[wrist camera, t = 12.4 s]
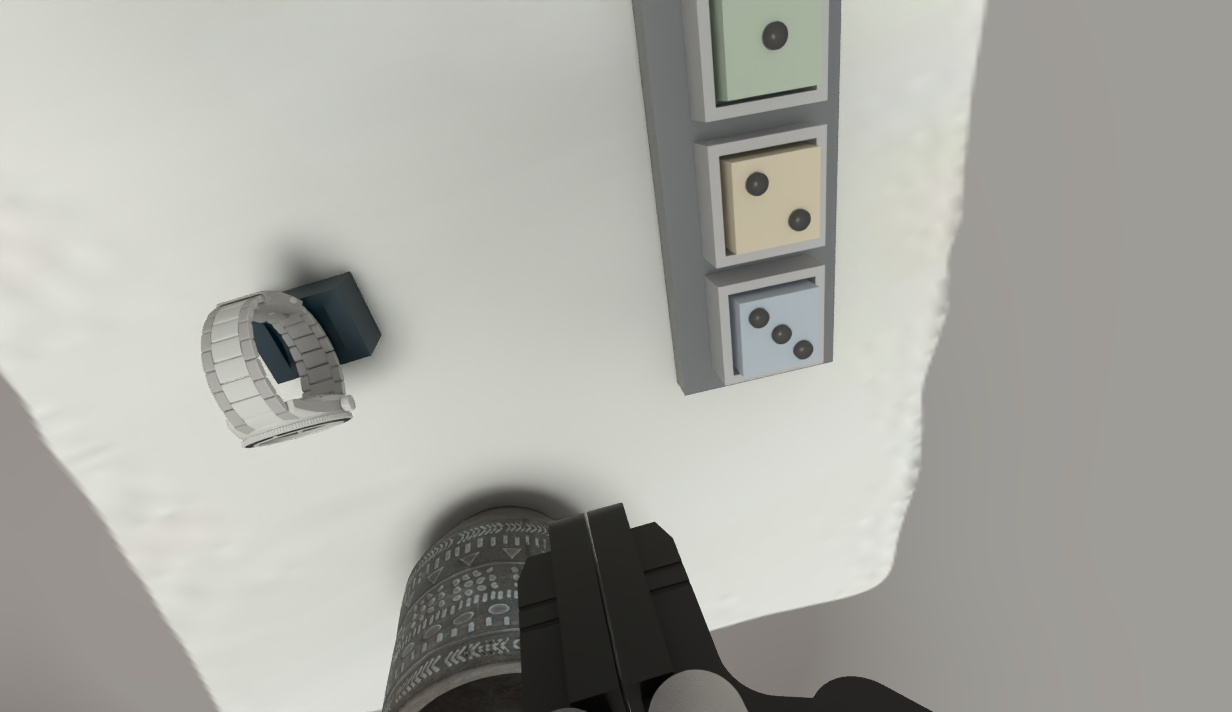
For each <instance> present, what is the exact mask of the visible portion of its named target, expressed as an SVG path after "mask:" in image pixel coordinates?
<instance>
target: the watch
mask: <svg viewBox="0 0 1232 712" xmlns="http://www.w3.org/2000/svg"><path fill="white" fill-rule="evenodd" d="M202 334H203V335H202V337H201V352H202V354H201V358H202V365H203V370H204V372H205V373H207V374H206V379H207V382H208V385H209V388H210V390H211V393H214V394H213V396H214V398H215V400H216V402H217V404H218V406H219V407H220V409H221V411H223V412H224V411H225V412H224V414H225V416H226V417H227V419H228V420H226V422H227V426H228V428H229V429H230V430H231V431H232V432H233V433H234V434H235V435H236V436H237V437H239V438H240V439H243V441H242V442H241V444H242V447H243V448H252V447H259V446H265V445H271V444H275V443H280V442H284V441H288V440H292V439H296V438H299V437H303V436H306V435H310V434H313V433H317V432H320V431H323V430H326V429H329V428H332V427H334V426H337V425H339V424H342V423H344V422H346V421H348V420H350V419H351V418H353V416H352V413H350V412H349V411H351V410H354V409H355V401H354V399H353V397H352V396H351V395H347V396H345V395H346V392H345V385H344V382H343V381H344V378H343V374H342V370H341V367H340V365H342V364H345V363H348V362H351V361H355V360H358V359H361V358H364V357H368V356H371V355H372V353H373V351H374V349H375V347H376V345H377V343H378V341H379V339H380V337H381V333H380V331H379V329H378V327H377V325H376V323H375V321H374V319H373V317H372V315H371V313H370V311H369V309H368V307H367V305H366V303H365V301H364V299H363V297H362V295H361V293H360V291H359V289H358V287H357V285H356V283H355V281H354V279H353V277H352V275H351V273H350V272H347V273H344V274H341V275H337V276H334V277H331V278H327V279H324V280H321V281H317V282H314V283H311V284H307V285H304V286H301V287H297V288H294V289H291V290H287V291H284V292H278V291H261V292H257V293H254V294H250V295H247V296H243V297H240V298H236V299H233V300H230V301H227V302H223V303H220V304H217V308H216V309H214V311H212V312H211V313H210V314H209V315H208V317H207V320H206V321H205V323H204V326H203V330H202ZM258 353H259V354H260V356H261V357H262V359H263V361H264V362H265V364H266V365H267V367H268V369H269V370H270V372H271V374H272V375H273V377H274V378H275V380H276V382H277V383H278V384H280V383H283V382H286V381H290V380H293V379H296V378H299V377H302V378H301V379H300V380H301V387H302V391H303V392H304V393H303V394H302V398H300V399H293V400H289V401H287V402H284V401H283V400H282V399H281V398H280V396H279V395H276V390H275V389H274V387H273V386H272V384H271V382H270V381H269V379H268V378H264V377H266V372H265V370H264V368H263V366H262V363H261V361H260V360H259V359H255V358H258V357H259V354H258ZM239 356H240V357H239ZM236 357H237V358H236ZM252 359H253V360H252ZM226 360H227V361H226ZM337 366H338V367H337ZM334 367H335V368H334ZM212 371H213V372H212ZM209 372H210V373H209ZM249 375H251V376H249ZM246 376H248V377H246ZM242 377H245V378H242ZM239 378H241V379H239ZM261 378H262V379H261ZM236 379H238V380H236ZM258 379H259V380H258ZM233 380H235V381H233ZM229 381H232V382H229ZM226 382H228V383H226ZM224 383H225V384H224ZM222 390H223V391H222ZM219 391H220V392H219ZM216 392H217V393H216Z"/></svg>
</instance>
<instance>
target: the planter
mask: <svg viewBox="0 0 1232 712" xmlns="http://www.w3.org/2000/svg"><path fill="white" fill-rule="evenodd" d="M553 521H555V520H553V519H552V518H550V517H548V516H546V515H544V514H542V513H540V512H538V511H535V510H532V509H529V508H524V507H515V506H507V507H497V508H492V509H488V510H485V511H482V512H479V513H477V514H475V515H473V516H471V517H469V518H468V519H466V520H465V521H463V522H462V523H460V524H459V525H457V526H456V527H454V528H453V529H452V530H450V531H449V532H448V533H447V534H445V535H444V536H443V537H442V538H441V539H439V540H438V541H437V542H436V543H435V544H434V545H433V546H432V547H431V548H430V549H429V550H428V551H427V552H426V553H425V554H424V555H423V556H422V557H421V559H420V560H419V561H418V563H417V564H416V565H415V567H414V569H413V570H412V572H411V574H410V576H409V579H408V582H407V585H406V589H405V593H404V597H403V602H402V606H401V611H400V617H399V623H398V630H397V637H396V642H395V647H394V652H393V657H392V662H391V667H390V672H389V677H388V682H387V687H386V692H385V698H384V703H383V709H382V712H523V697H522V676H521V654H520V629H519V608H518V588H517V581H518V579H519V576H520V574H521V571H522V569H523V566H524V564H525V561H526V559H527V557H530V556H534V555H538V554H541V553H545V552H548V551H551V547H550V539H549V530H548V523H549V522H553ZM597 563H598V562H597ZM598 567H599V566H598Z"/></svg>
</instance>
